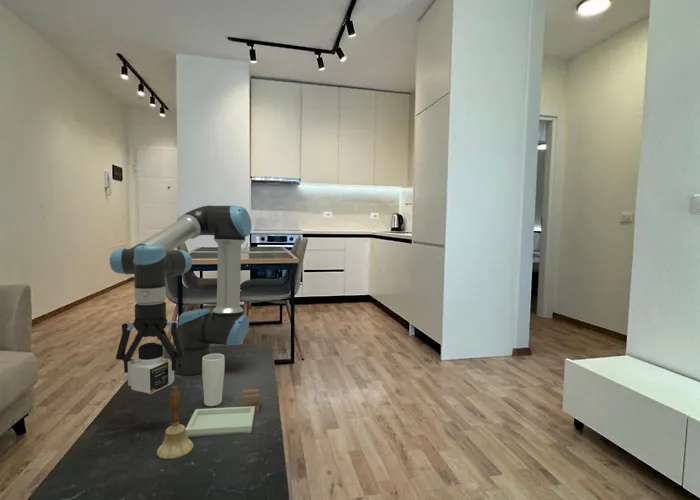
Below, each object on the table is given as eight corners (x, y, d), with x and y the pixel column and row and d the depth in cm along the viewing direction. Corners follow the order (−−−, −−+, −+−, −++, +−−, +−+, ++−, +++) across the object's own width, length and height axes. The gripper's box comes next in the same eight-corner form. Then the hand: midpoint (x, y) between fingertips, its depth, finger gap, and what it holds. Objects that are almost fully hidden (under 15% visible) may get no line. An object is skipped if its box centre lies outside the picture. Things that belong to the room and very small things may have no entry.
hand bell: (177, 461, 89) (177, 395, 89) (148, 455, 92) (148, 390, 91) (200, 443, 97) (200, 382, 97) (173, 438, 100) (173, 378, 99)
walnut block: (243, 405, 119) (243, 390, 119) (259, 404, 120) (259, 389, 120) (241, 413, 115) (241, 396, 114) (258, 412, 115) (258, 396, 115)
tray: (195, 415, 112) (195, 409, 112) (254, 412, 115) (254, 406, 115) (184, 437, 100) (184, 429, 100) (251, 433, 103) (251, 425, 103)
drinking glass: (216, 409, 116) (217, 361, 116) (197, 406, 118) (197, 359, 117) (228, 400, 123) (228, 354, 122) (209, 397, 124) (209, 352, 124)
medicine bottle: (150, 394, 100) (149, 349, 99) (130, 390, 102) (129, 346, 101) (171, 384, 106) (171, 342, 106) (152, 380, 109) (152, 339, 108)
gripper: (99, 305, 97) (100, 390, 99) (190, 304, 101) (190, 386, 102) (112, 300, 105) (113, 379, 106) (196, 299, 108) (197, 375, 110)
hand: (151, 382), depth 104 cm, fingers closed on medicine bottle, 9 cm apart
